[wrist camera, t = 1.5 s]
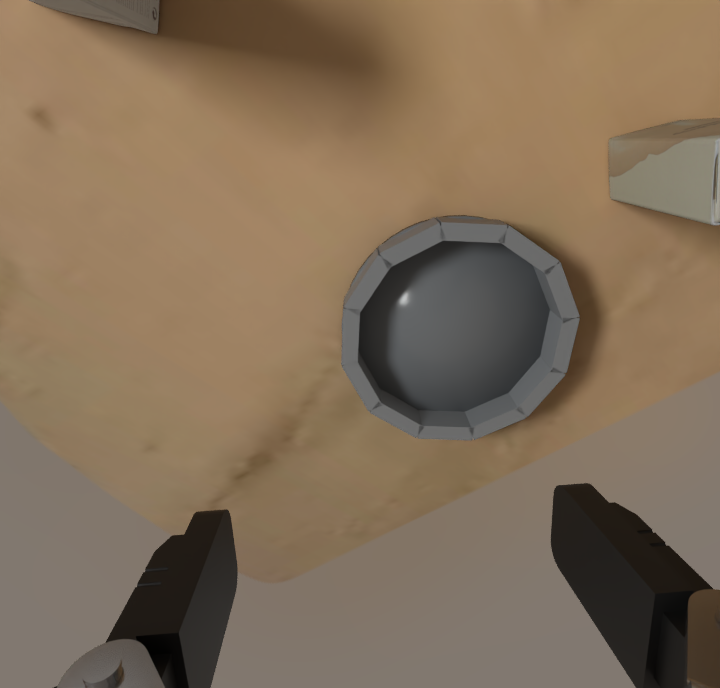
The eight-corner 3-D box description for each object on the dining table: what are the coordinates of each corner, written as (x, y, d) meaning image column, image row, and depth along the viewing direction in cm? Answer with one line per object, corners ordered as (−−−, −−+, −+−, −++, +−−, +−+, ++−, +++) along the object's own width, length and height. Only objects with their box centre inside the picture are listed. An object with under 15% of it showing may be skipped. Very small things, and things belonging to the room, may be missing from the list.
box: (682, 118, 32) (836, 107, 22) (681, 184, 33) (824, 202, 23) (603, 139, 32) (717, 137, 22) (605, 202, 34) (713, 228, 24)
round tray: (425, 166, 33) (432, 169, 30) (605, 294, 37) (627, 307, 34) (302, 356, 38) (297, 374, 36) (469, 450, 42) (478, 473, 39)
